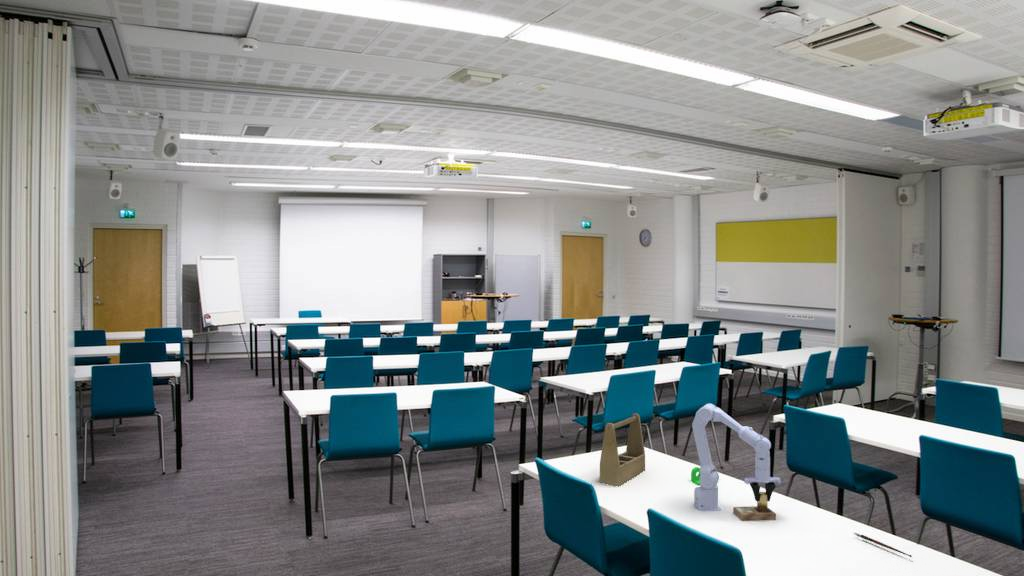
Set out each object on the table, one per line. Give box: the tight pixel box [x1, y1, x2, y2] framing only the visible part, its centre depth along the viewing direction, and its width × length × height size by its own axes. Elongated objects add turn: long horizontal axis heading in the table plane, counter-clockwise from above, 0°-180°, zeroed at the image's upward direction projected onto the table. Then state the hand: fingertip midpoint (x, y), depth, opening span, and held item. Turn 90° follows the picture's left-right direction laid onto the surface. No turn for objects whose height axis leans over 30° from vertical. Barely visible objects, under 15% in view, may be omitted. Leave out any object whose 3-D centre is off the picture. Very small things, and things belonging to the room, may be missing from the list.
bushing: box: [756, 491, 769, 509], centre depth 273 cm, size 4×4×6 cm
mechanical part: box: [690, 466, 719, 487], centre depth 316 cm, size 12×6×8 cm, turn 107°
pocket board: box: [732, 505, 777, 522], centre depth 273 cm, size 14×9×3 cm, turn 94°
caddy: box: [599, 413, 646, 488], centre depth 325 cm, size 29×11×30 cm, turn 144°
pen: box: [853, 532, 913, 558], centre depth 243 cm, size 1×1×23 cm
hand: (762, 500), depth 273 cm, fingers closed on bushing, 4 cm apart
